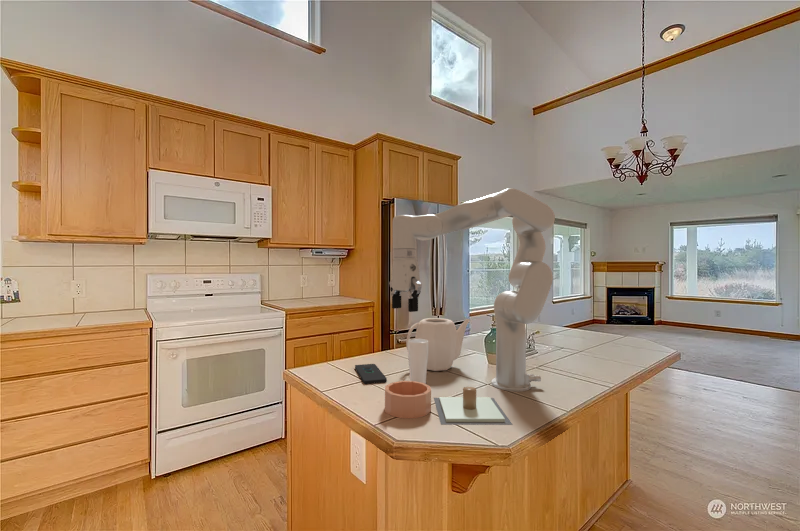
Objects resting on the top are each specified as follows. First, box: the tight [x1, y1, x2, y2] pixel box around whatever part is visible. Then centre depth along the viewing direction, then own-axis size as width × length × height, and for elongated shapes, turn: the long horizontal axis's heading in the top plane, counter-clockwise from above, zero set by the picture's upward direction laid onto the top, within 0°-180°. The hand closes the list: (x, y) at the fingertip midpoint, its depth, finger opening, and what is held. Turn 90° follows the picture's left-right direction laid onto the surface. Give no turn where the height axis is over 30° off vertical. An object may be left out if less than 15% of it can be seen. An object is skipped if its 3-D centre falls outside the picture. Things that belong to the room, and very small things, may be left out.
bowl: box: [384, 380, 432, 419], centre depth 100 cm, size 13×13×6 cm
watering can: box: [405, 317, 471, 372], centre depth 141 cm, size 16×27×19 cm, turn 105°
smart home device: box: [354, 363, 387, 385], centre depth 131 cm, size 8×2×20 cm
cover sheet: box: [438, 386, 505, 422], centre depth 99 cm, size 15×15×6 cm
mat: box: [433, 397, 513, 426], centre depth 99 cm, size 18×18×1 cm
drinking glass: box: [407, 338, 428, 384], centre depth 120 cm, size 7×7×15 cm
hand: (404, 309), depth 112 cm, fingers open, 9 cm apart
